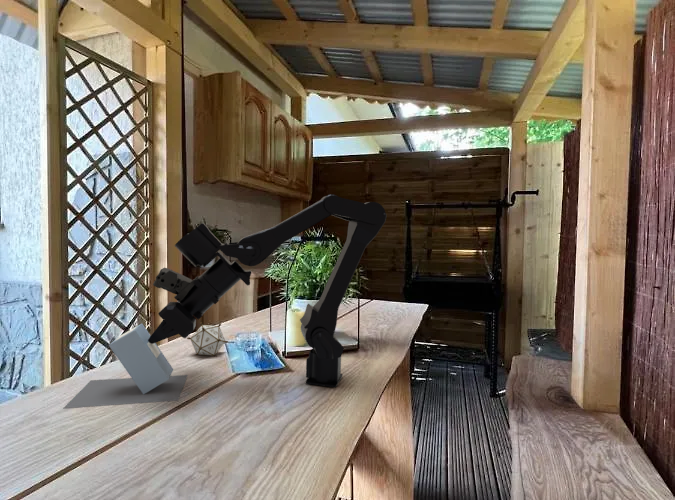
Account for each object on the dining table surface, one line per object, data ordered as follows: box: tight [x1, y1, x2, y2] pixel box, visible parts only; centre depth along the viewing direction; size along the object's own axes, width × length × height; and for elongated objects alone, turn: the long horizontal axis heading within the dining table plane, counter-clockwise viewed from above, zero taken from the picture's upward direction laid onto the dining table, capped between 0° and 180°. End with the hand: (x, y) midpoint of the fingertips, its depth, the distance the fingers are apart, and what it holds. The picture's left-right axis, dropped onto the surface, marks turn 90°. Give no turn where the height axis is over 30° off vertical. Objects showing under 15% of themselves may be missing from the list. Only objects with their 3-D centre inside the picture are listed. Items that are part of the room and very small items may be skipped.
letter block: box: [108, 323, 174, 395], centre depth 72 cm, size 5×5×11 cm
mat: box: [62, 374, 189, 410], centre depth 72 cm, size 18×12×1 cm, turn 104°
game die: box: [186, 321, 229, 357], centre depth 93 cm, size 9×8×10 cm
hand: (150, 341), depth 72 cm, fingers closed
